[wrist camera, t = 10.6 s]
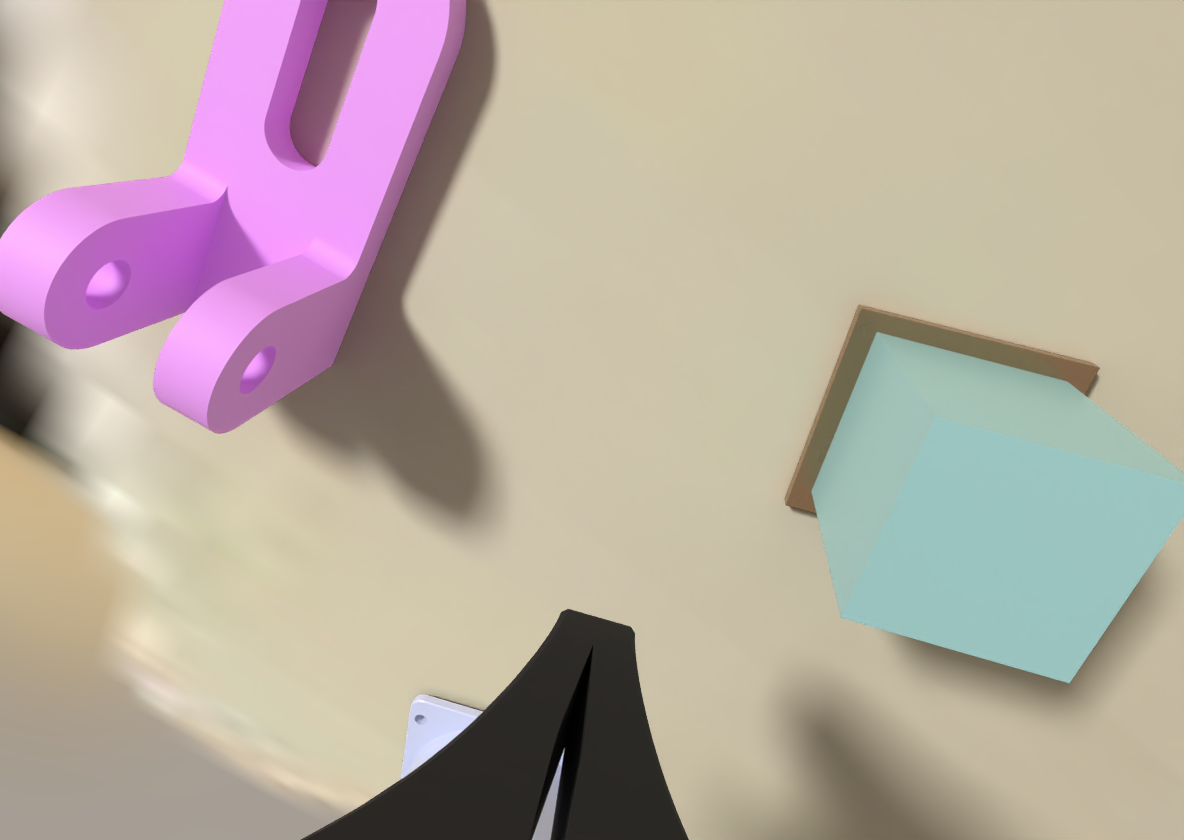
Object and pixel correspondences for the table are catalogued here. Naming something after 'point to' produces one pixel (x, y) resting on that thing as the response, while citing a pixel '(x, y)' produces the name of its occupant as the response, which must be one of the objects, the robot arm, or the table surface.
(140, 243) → the bracket
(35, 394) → the table surface
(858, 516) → the teal cube
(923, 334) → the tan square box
